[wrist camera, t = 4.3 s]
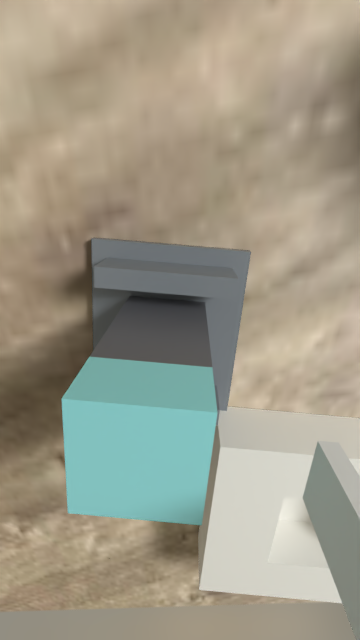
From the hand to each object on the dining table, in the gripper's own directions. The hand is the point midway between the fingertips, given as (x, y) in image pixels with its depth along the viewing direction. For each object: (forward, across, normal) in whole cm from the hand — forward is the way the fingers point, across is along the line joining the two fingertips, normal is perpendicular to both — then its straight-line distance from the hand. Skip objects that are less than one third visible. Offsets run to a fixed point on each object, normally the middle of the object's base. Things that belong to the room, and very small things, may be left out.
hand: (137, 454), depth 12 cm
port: (+12, +12, -12) cm, 21 cm away
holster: (+12, 0, 0) cm, 12 cm away
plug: (+11, 0, 0) cm, 11 cm away
